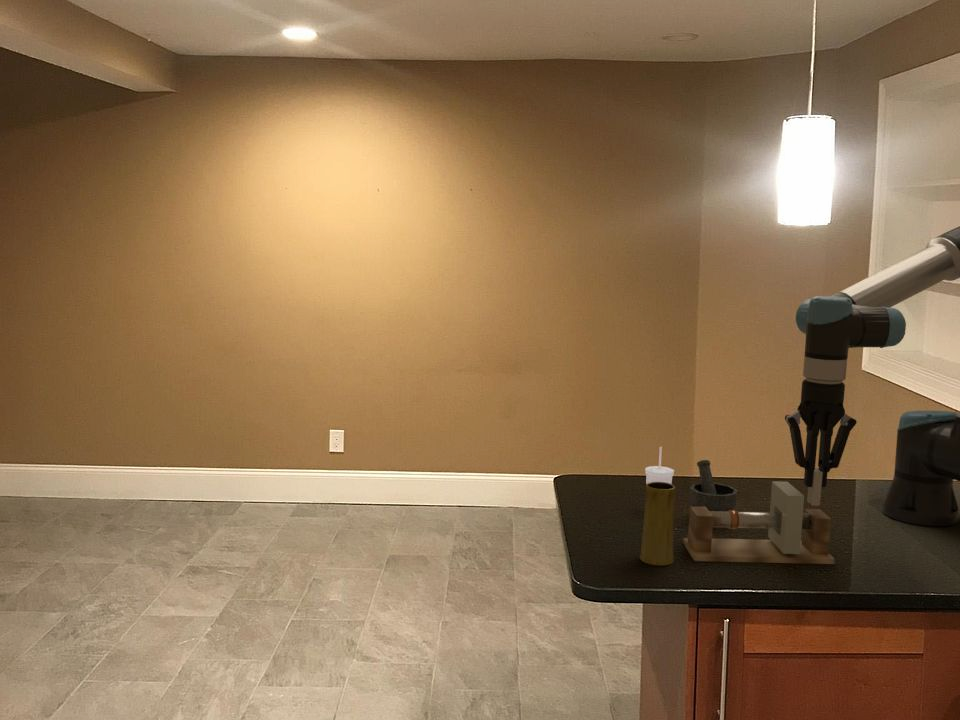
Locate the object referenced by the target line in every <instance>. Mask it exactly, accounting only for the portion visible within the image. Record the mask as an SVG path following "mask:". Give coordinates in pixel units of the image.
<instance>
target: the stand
mask: <svg viewBox="0 0 960 720" xmlns="http://www.w3.org/2000/svg"><path fill="white" fill-rule="evenodd" d="M803 513H809V514H810V515H811V518H812V526H811V529H802V532H801V544H800V554H783V553H782V551H781V550H780V549H779V548H778V547H777V546H776V545H775V544H774V543H773V542H772V540H771V539H752V538H751V539H749V538H747V539H746V538H745V539H744V538H713V529H714V527H713V515H712V514H711V513H710V512H709V510H708V509H707V508H706V507H699V506H692V505H690V506H689V519H688V533H687V537H683V538H682V544H683V546H684V547H685V548H686V550H687V552H688V553H689V555H690V557H691V559H692V560H693V562H718V563H719V562H721V563H722V562H724V563H725V562H727V563H766V564H767V563H768V564H769V563H771V564H773V563H774V564H775V563H776V564H778V563H779V564H807V565H808V564H811V565H812V564H816V565H819V564H820V565H834V564H835V559H836V558H835V557H833V555H831V554H830V553H829V550H830V538H831V526H832V518H831V517H830V516H828V515H827V514H826V513H825V512H824V511H823V510H821V509H820V508H803Z"/></svg>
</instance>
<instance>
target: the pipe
mask: <svg viewBox="0 0 960 720" xmlns="http://www.w3.org/2000/svg"><path fill="white" fill-rule="evenodd" d="M709 512H710V513H711V514H712V515H713V528H724V529H725V528H727V529H728V530H738V529H769V528H771V529H781V521H782V513H773V512H770V511H769V512H767V511H765V512H763V511H762V512H761V511H738V510H737V509H735V510H734V509H732V510H728V511H709ZM811 526H812V518H811V515H810V514H809V513H804V512H803V519H802V530H803V529H811Z"/></svg>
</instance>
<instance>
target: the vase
mask: <svg viewBox="0 0 960 720" xmlns="http://www.w3.org/2000/svg"><path fill="white" fill-rule="evenodd" d="M645 486H646V487H645V488H646V489H645V503H644V513H643V514H644V516H643V527H642V538H641V546H640V547H641V549H640V555H639V559H640V561H641V562H643V563H644V564H648V565H651V566H657V567H659V566H660V567H662V566H663V567H664V566H670V565H672V564H673V563H674V560H675V559H674V517H675V502H676V486H675V484H673V483H671V484H670V483H666V482H650V483H647V485H646V484H645Z"/></svg>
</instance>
